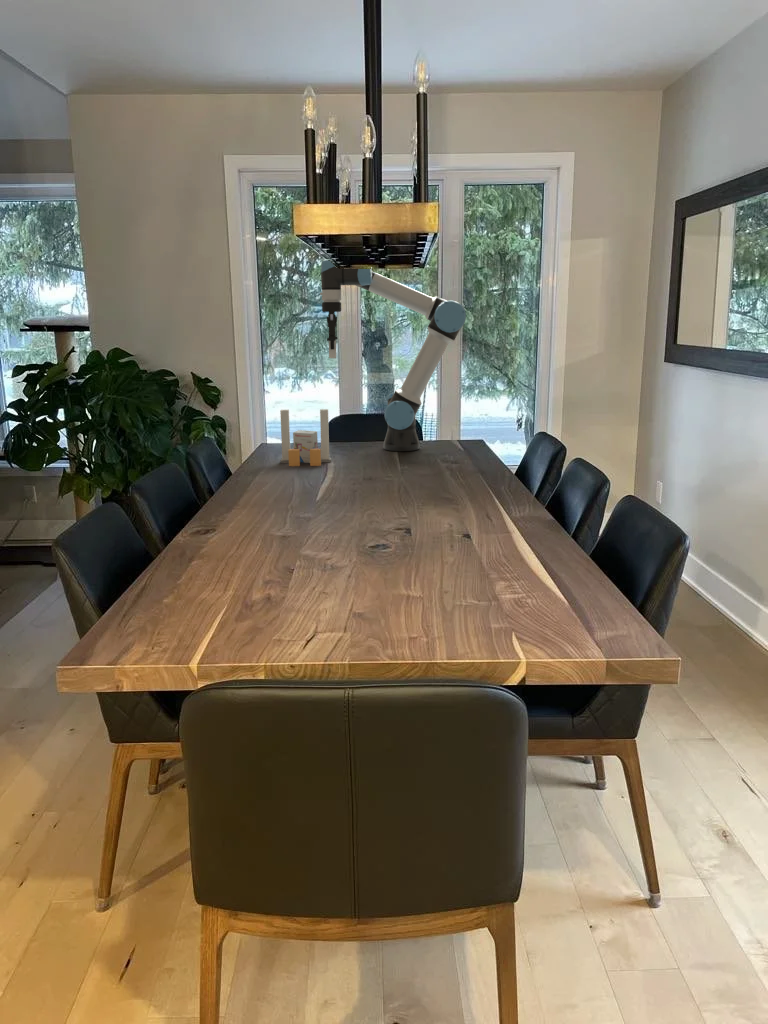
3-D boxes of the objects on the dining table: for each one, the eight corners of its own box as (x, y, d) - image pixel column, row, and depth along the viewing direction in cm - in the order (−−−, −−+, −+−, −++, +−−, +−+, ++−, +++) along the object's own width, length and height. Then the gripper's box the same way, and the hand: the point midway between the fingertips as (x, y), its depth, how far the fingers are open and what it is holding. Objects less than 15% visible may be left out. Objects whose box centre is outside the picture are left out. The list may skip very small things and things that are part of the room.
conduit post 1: (292, 460, 298) (290, 409, 293) (291, 462, 294) (290, 410, 289) (281, 460, 298) (279, 409, 293) (280, 463, 294) (278, 410, 289)
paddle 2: (321, 464, 291) (320, 448, 290) (320, 465, 288) (320, 449, 287) (310, 464, 291) (310, 448, 290) (310, 465, 288) (309, 450, 287)
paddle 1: (300, 464, 291) (299, 448, 289) (299, 466, 288) (299, 450, 286) (289, 464, 291) (288, 449, 289) (288, 466, 288) (288, 450, 286)
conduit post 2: (331, 460, 299) (330, 408, 294) (331, 462, 295) (329, 410, 289) (319, 460, 299) (318, 409, 294) (319, 462, 294) (318, 410, 289)
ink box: (293, 462, 295) (292, 431, 292) (298, 459, 300) (297, 429, 297) (313, 463, 293) (312, 432, 290) (318, 461, 297) (317, 430, 294)
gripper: (322, 301, 309) (324, 355, 314) (320, 301, 285) (322, 359, 290) (341, 301, 309) (342, 355, 315) (341, 301, 285) (342, 358, 290)
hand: (332, 357), depth 302 cm, fingers open, 13 cm apart
